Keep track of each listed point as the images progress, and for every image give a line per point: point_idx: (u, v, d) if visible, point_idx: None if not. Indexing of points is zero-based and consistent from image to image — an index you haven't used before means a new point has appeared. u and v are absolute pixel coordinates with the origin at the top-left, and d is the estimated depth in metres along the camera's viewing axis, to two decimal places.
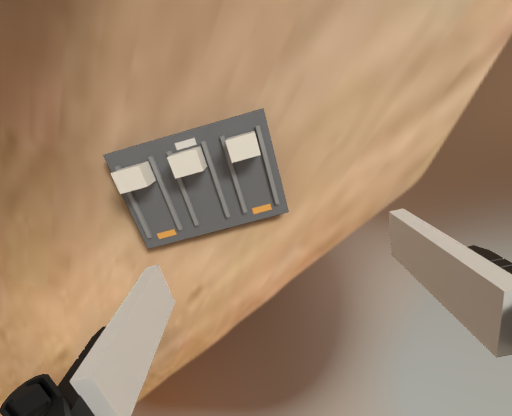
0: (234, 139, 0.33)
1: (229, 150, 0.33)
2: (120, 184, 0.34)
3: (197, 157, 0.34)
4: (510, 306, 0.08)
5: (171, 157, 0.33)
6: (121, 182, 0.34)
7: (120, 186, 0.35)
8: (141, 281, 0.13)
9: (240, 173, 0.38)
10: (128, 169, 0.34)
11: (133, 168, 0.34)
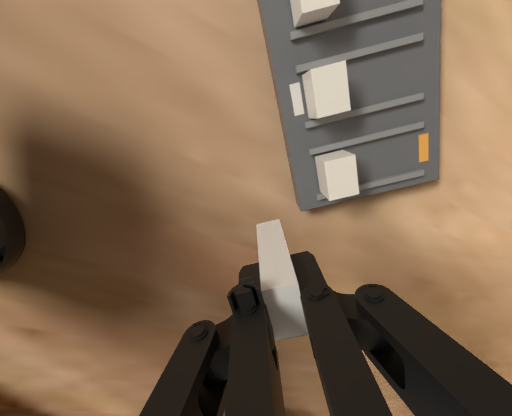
0: None
1: (318, 6, 0.20)
2: (346, 191, 0.25)
3: (323, 68, 0.21)
4: (288, 298, 0.10)
5: (318, 111, 0.23)
6: (343, 189, 0.25)
7: (348, 191, 0.25)
8: (262, 232, 0.15)
9: (351, 8, 0.23)
10: (327, 176, 0.25)
11: (327, 169, 0.24)
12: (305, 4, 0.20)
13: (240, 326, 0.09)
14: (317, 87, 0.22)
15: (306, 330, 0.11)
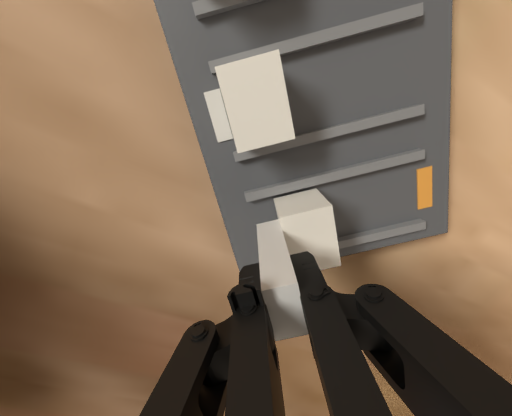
0: None
1: None
2: (319, 261, 0.15)
3: (238, 64, 0.12)
4: (287, 298, 0.10)
5: (238, 141, 0.13)
6: None
7: (324, 262, 0.15)
8: (262, 232, 0.15)
9: None
10: (287, 240, 0.15)
11: (285, 229, 0.14)
12: None
13: (240, 326, 0.09)
14: (231, 99, 0.12)
15: (306, 330, 0.11)
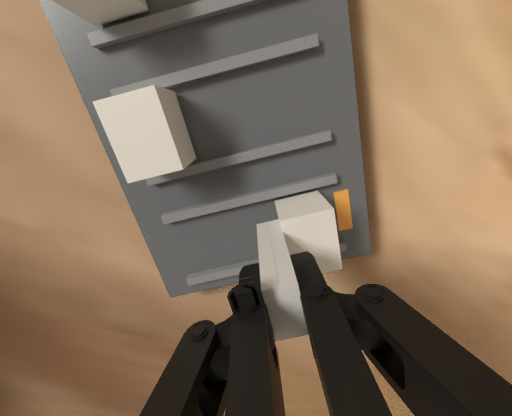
0: None
1: None
2: (320, 265, 0.15)
3: (116, 99, 0.12)
4: (287, 298, 0.10)
5: (126, 171, 0.13)
6: None
7: (325, 265, 0.15)
8: (262, 232, 0.15)
9: None
10: (288, 243, 0.15)
11: (286, 232, 0.14)
12: None
13: (240, 326, 0.09)
14: (114, 132, 0.12)
15: (306, 330, 0.11)
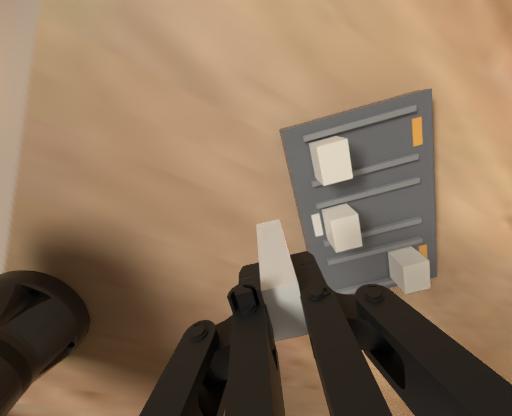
0: (323, 174, 0.25)
1: (336, 180, 0.26)
2: (419, 286, 0.30)
3: (340, 219, 0.27)
4: (287, 298, 0.10)
5: (336, 248, 0.28)
6: (417, 285, 0.30)
7: (422, 287, 0.30)
8: (262, 232, 0.15)
9: (360, 162, 0.29)
10: (405, 277, 0.30)
11: (405, 272, 0.30)
12: (326, 180, 0.26)
13: (240, 326, 0.09)
14: (335, 232, 0.28)
15: (306, 330, 0.11)
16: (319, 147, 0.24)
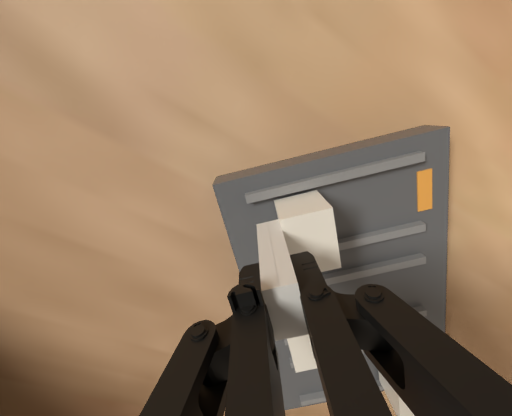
0: None
1: None
2: None
3: None
4: (287, 298, 0.10)
5: (296, 366, 0.18)
6: None
7: None
8: (262, 232, 0.15)
9: (337, 231, 0.19)
10: (400, 402, 0.20)
11: None
12: None
13: (240, 326, 0.09)
14: (294, 346, 0.18)
15: (306, 330, 0.11)
16: (284, 220, 0.14)
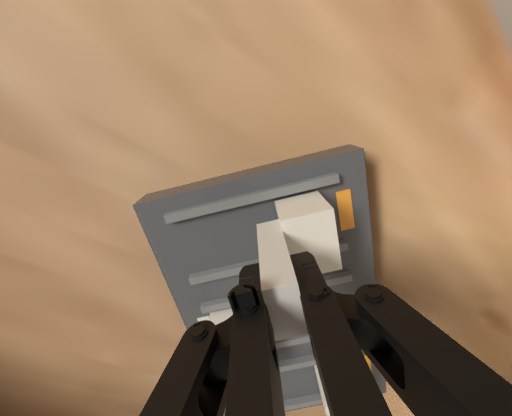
0: None
1: None
2: None
3: None
4: (287, 298, 0.10)
5: None
6: None
7: None
8: (262, 232, 0.15)
9: None
10: None
11: (328, 412, 0.20)
12: None
13: (240, 326, 0.09)
14: None
15: (306, 330, 0.11)
16: (285, 221, 0.14)
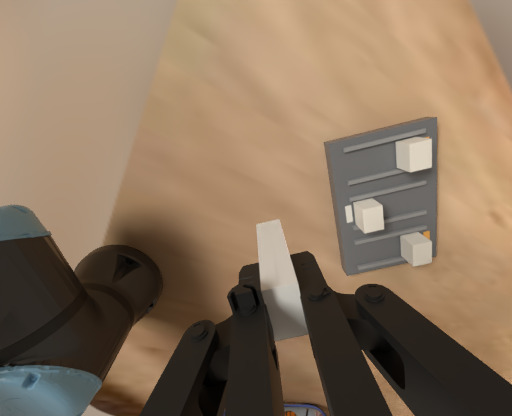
0: (411, 163, 0.36)
1: (419, 168, 0.36)
2: (424, 261, 0.41)
3: (369, 209, 0.38)
4: (288, 298, 0.10)
5: (365, 230, 0.39)
6: (422, 260, 0.41)
7: (425, 261, 0.41)
8: (262, 232, 0.15)
9: (384, 167, 0.40)
10: (413, 253, 0.41)
11: (414, 249, 0.40)
12: (412, 168, 0.36)
13: (240, 326, 0.09)
14: (365, 218, 0.38)
15: (306, 330, 0.11)
16: (411, 144, 0.35)
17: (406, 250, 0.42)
